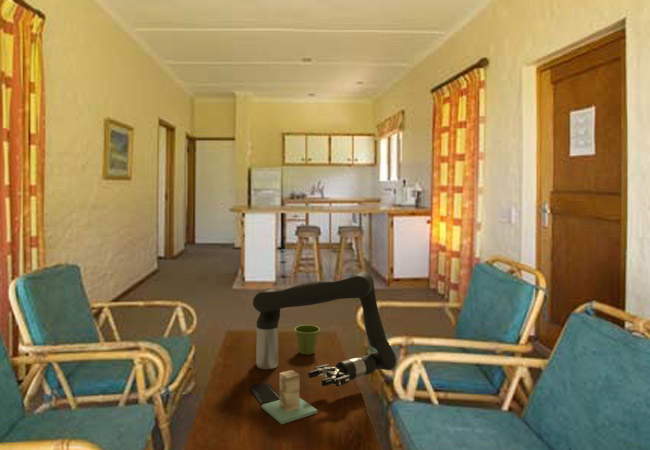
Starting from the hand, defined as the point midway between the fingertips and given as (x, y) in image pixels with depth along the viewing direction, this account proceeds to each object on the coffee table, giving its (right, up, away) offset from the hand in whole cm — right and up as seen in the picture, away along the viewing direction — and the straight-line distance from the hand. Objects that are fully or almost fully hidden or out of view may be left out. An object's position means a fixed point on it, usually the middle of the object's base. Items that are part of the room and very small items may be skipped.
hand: (315, 379), depth 169 cm
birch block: (-9, -8, -6) cm, 13 cm away
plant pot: (-5, -4, +51) cm, 51 cm away
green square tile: (-9, -9, -6) cm, 14 cm away
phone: (-19, -8, +7) cm, 22 cm away
